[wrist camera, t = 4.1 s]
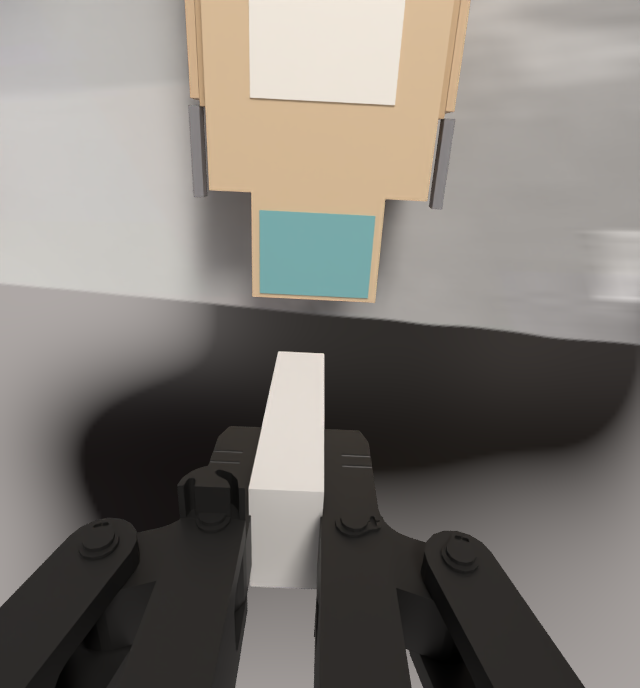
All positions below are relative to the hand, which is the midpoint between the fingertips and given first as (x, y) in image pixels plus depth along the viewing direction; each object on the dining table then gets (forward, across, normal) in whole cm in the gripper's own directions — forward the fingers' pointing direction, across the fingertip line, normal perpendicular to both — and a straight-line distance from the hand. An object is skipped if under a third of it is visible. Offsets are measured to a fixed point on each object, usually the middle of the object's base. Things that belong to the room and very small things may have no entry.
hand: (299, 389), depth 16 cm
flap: (+16, 0, +9) cm, 18 cm away
